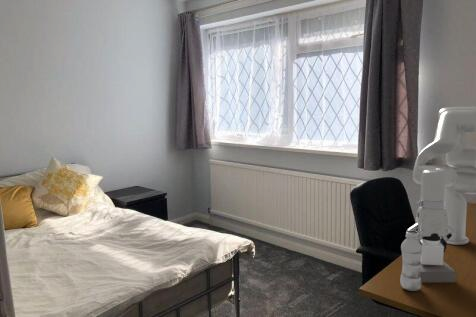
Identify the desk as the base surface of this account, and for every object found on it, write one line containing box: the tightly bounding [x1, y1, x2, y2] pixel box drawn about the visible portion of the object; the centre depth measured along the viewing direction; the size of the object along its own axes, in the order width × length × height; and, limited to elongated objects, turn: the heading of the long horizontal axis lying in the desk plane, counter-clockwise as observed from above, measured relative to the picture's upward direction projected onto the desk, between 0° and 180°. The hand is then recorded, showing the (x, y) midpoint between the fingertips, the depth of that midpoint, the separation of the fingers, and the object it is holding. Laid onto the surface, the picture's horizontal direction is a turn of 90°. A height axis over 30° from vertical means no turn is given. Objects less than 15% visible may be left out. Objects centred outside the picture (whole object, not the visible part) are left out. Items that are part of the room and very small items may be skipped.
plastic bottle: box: [399, 230, 423, 292], centre depth 130 cm, size 6×7×20 cm
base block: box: [420, 261, 457, 283], centre depth 141 cm, size 13×12×4 cm
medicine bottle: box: [420, 233, 445, 265], centre depth 140 cm, size 7×7×12 cm
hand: (430, 250), depth 140 cm, fingers closed on medicine bottle, 7 cm apart
